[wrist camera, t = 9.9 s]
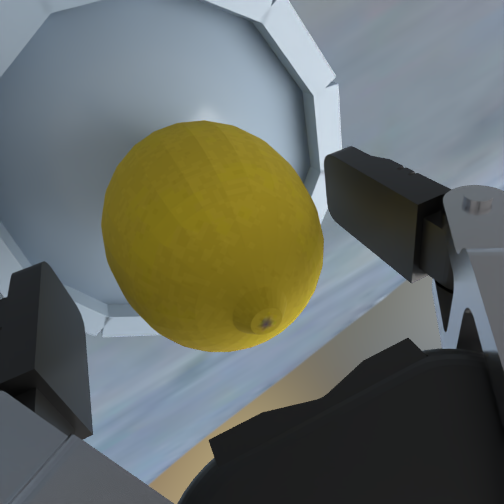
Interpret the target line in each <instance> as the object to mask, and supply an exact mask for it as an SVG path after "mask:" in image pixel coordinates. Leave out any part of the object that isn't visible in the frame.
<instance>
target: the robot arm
mask: <svg viewBox="0 0 504 504" xmlns="http://www.w3.org/2000/svg"><path fill="white" fill-rule="evenodd" d="M324 173H325V185H326V196H327V205H328V209H329V212H330V214H331V216H332V218H333V219H334V220H335V222H337V223H338V224H339V225H340V226H341V227H343V228H344V229H345V230H346V231H348V232H349V233H350V234H351V235H352V236H354V237H355V238H356V239H357V240H359V241H360V242H361V243H362V244H364V245H365V246H366V247H367V248H369V249H370V250H371V251H372V252H373V253H375V254H376V255H377V256H378V257H380V258H381V259H382V260H383V261H385V262H386V263H387V264H388V265H389V266H391V267H392V268H393V269H394V270H396V271H397V272H398V273H399V274H401V275H402V276H403V277H404V278H406V279H407V280H408V281H409V282H410V283H413V282H415V281H418V280H420V279H422V278H424V277H426V276H428V275H429V276H430V277H432V278H433V282H432V283H433V284H432V292H433V298H434V304H435V310H436V315H437V321H438V327H439V333H440V339H441V346H442V349H432V350H424V351H421V350H420V349H419V348H418V347H417V346H416V345H415V344H414V343H413V342H412V341H411V340H410V339H409V338H407V339H405V340H403V341H401V342H399V343H397V344H395V345H393V346H391V347H389V348H387V349H385V350H383V351H381V352H380V353H378V354H376V355H374V356H372V357H370V358H368V359H366V360H364V361H363V362H361V363H360V364H359V365H358V366H357V367H356V368H355V369H354V370H353V371H352V372H351V373H349V375H347V376H346V377H345V378H344V379H343V380H342V381H341V382H340V383H339V384H338V385H336V386H335V387H334V388H333V389H332V390H331V391H330V392H329V393H328V394H327V395H325V396H324V397H322V398H320V399H317V400H313V401H309V402H305V403H301V404H296V405H292V406H288V407H284V408H279V409H275V410H271V411H267V412H263V413H260V414H259V415H257V416H255V417H253V418H251V419H249V420H247V421H245V422H243V423H241V424H239V425H237V426H235V427H233V428H232V429H229V430H227V431H225V432H223V433H222V434H220V435H218V436H216V437H214V438H212V439H210V440H209V442H210V446H211V448H212V451H213V454H214V457H215V458H214V459H213V460H211V461H210V462H209V463H208V464H207V465H206V466H205V467H204V468H203V469H202V470H201V472H199V474H198V475H197V476H196V477H195V478H194V479H193V481H192V482H191V483H190V485H189V486H188V488H187V489H186V490H185V492H184V493H183V495H182V497H181V498H180V500H179V502H178V504H504V191H502V190H500V189H497V188H493V187H489V186H481V185H469V186H462V187H458V188H455V189H452V190H451V189H449V188H447V187H445V186H443V185H441V184H439V183H437V182H435V181H433V180H431V179H429V178H427V177H425V176H423V175H421V174H419V173H416V174H415V172H414V171H412V170H410V169H408V168H404V167H403V166H402V165H400V164H398V163H396V162H394V161H392V160H390V159H385V158H380V157H375V156H370V155H368V154H366V153H364V152H362V151H360V150H359V149H357V148H355V147H352V146H350V147H347V148H344V149H342V150H339V151H336V152H334V153H331V154H328V155H327V156H326V157H325V159H324ZM91 435H93V429H92V415H91V402H90V389H89V376H88V363H87V350H86V337H85V326H84V321H83V318H82V315H81V313H80V311H79V309H78V307H77V305H76V304H75V302H74V301H73V299H72V298H71V296H70V295H69V293H68V292H67V290H66V289H65V287H64V286H63V284H62V283H61V281H60V280H59V278H58V277H57V275H56V274H55V272H54V271H53V269H52V268H51V266H50V265H49V264H48V263H47V262H45V261H43V262H41V263H38V264H35V265H33V266H30V267H27V268H25V269H22V270H19V271H17V272H14V273H12V275H11V278H10V284H9V290H8V295H7V297H6V298H3V299H1V300H0V504H174V503H172V502H171V501H169V500H168V499H167V498H165V497H164V496H162V495H161V494H159V493H158V492H157V491H155V490H154V489H152V488H151V487H149V486H148V485H146V484H145V483H144V482H142V481H141V480H139V479H138V478H136V477H135V476H134V475H132V474H131V473H129V472H128V471H126V470H125V469H123V468H122V467H121V466H119V465H118V464H116V463H115V462H113V461H112V460H110V459H109V458H108V457H106V456H105V455H103V454H102V453H100V452H99V451H98V450H96V449H95V448H93V447H92V446H90V445H89V444H87V443H86V442H85V441H83V439H85V438H87V437H89V436H91Z"/></svg>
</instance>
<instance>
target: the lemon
mask: <svg viewBox="0 0 504 504" xmlns="http://www.w3.org/2000/svg"><path fill="white" fill-rule="evenodd" d="M101 228H102V236H103V242H104V248H105V254H106V258H107V262H108V265H109V267H110V269H111V272H112V273H113V275H114V277H115V279H116V281H117V283H118V285H119V287H120V289H121V291H122V293H123V295H124V297H125V298H126V300H127V301H128V303H129V304H130V305H131V307H132V308H133V309H134V310H135V311H136V312H137V313H138V314H139V315H140V316H141V317H142V318H143V319H144V320H145V321H146V322H147V323H148V325H149V326H150V327H151V328H153V329H154V330H155V331H156V332H158V333H159V334H161V335H162V336H164V337H166V338H168V339H170V340H172V341H174V342H176V343H178V344H180V345H182V346H184V347H188V348H193V349H197V350H202V351H208V352H231V351H236V350H241V349H246V348H251V347H253V346H256V345H258V344H261V343H263V342H266V341H268V340H269V339H271V338H273V337H274V336H276V335H278V334H279V333H281V332H282V331H283V330H284V329H286V328H287V327H288V326H289V325H290V324H291V323H293V321H294V320H295V319H296V318H297V317H298V316H299V314H300V313H301V312H302V311H303V309H304V308H305V307H306V305H307V303H308V302H309V300H310V298H311V296H312V295H313V293H314V291H315V288H316V285H317V282H318V279H319V276H320V272H321V269H322V265H323V247H324V238H323V234H322V229H321V225H320V220H319V216H318V211H317V209H316V206H315V204H314V202H313V200H312V198H311V196H310V194H309V193H308V191H307V189H306V187H305V186H304V184H303V182H302V180H301V179H300V177H299V175H298V174H297V172H296V171H295V170H294V168H293V167H292V166H291V165H290V164H289V162H287V161H286V160H285V159H284V158H283V157H282V156H281V155H280V154H279V153H278V152H277V151H275V150H274V149H273V148H272V147H271V146H270V145H269V144H268V143H267V142H265V141H264V140H262V139H261V138H259V137H257V136H255V135H252V134H250V133H248V132H246V131H244V130H242V129H240V128H238V127H236V126H233V125H229V124H223V123H217V122H211V121H206V120H202V121H191V122H181V123H176V124H173V125H170V126H167V127H165V128H162V129H159V130H157V131H154V132H153V133H151V134H150V135H148V136H147V137H145V138H144V139H143V140H141V141H140V142H138V143H137V144H135V145H134V146H133V147H132V149H131V150H130V151H129V152H128V153H127V155H126V156H125V157H124V158H123V159H122V161H121V162H120V163H119V164H118V166H117V167H116V170H115V172H114V174H113V176H112V178H111V180H110V183H109V185H108V187H107V189H106V193H105V198H104V205H103V212H102V220H101Z"/></svg>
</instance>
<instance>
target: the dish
mask: <svg viewBox="0 0 504 504" xmlns="http://www.w3.org/2000/svg"><path fill="white" fill-rule="evenodd" d="M335 77H336V75H335V74H334V72H333V70H332V69H331V67H330V66H329V64H328V63H327V61H326V59H325V58H324V56H323V55H322V53H321V51H320V50H319V48H318V47H317V45H316V43H315V42H314V40H313V39H312V37H311V35H310V34H309V32H308V31H307V29H306V28H305V26H304V24H303V23H302V21H301V20H300V18H299V16H298V15H297V13H296V12H295V10H294V8H293V7H292V5H291V4H290V2H289V0H0V292H1V294H2V295H3V296H4V297H5V298H6V297H7V295H8V290H9V284H10V278H11V275H12V273H14V272H17V271H19V270H22V269H25V268H27V267H30V266H33V265H35V264H38V263H41V262H43V261H45V262H47V263H48V264H49V265H50V266H51V268H52V269H53V271H54V272H55V274H56V275H57V277H58V278H59V280H60V281H61V283H62V284H63V286H64V287H65V289H66V290H67V292H68V293H69V295H70V296H71V298H72V299H73V301H74V302H75V304H76V305H77V307H78V309H79V311H80V313H81V315H82V318H83V321H84V326H85V332H86V333H88V334H91V335H93V336H96V335H97V334H98V333H99V332H100V330H101V332H102V337H124V336H148V335H161V334H159V333H158V332H156V331H155V330H154V329H153V328H151V327H150V326H149V325H148V323H147V322H146V321H145V320H144V319H143V318H142V317H141V316H140V315H139V314H138V313H137V312H136V311H135V310H134V309H133V308H132V307H131V305H130V304H129V303H128V301H127V300H126V298H125V297H124V295H123V293H122V291H121V289H120V287H119V285H118V283H117V281H116V279H115V277H114V275H113V273H112V272H111V269H110V267H109V265H108V262H107V258H106V254H105V248H104V242H103V236H102V228H101V220H102V212H103V205H104V198H105V193H106V189H107V187H108V185H109V183H110V180H111V178H112V176H113V174H114V172H115V170H116V167H117V166H118V164H119V163H120V162H121V161H122V159H123V158H124V157H125V156H126V155H127V153H128V152H129V151H130V150H131V149H132V147H133V146H134V145H135V144H137V143H138V142H140V141H141V140H143V139H144V138H145V137H147V136H148V135H150V134H151V133H153V132H154V131H157V130H159V129H162V128H165V127H167V126H170V125H173V124H176V123H181V122H191V121H202V120H206V121H211V122H217V123H223V124H229V125H233V126H236V127H238V128H240V129H242V130H244V131H246V132H248V133H250V134H252V135H255V136H257V137H259V138H261V139H262V140H264V141H265V142H267V143H268V144H269V145H270V146H271V147H272V148H273V149H274V150H275V151H277V152H278V153H279V154H280V155H281V156H282V157H283V158H284V159H285V160H286V161H287V162H289V164H290V165H291V166H292V167H293V168H294V170H295V171H296V172H297V174H298V175H299V177H300V179H301V180H302V182H303V184H304V186H305V187H306V189H307V191H308V193H309V194H310V196H311V198H312V200H313V202H314V204H315V206H316V209H317V211H318V216H319V220H320V225H321V223H322V220H323V218H324V216H325V213H326V211H327V208H328V205H327V196H326V185H325V173H324V159H325V157H326V156H327V155H328V154H331V153H334V152H336V151H339V150H342V143H341V124H340V106H339V87H338V83H335V82H331V81H332V80H333V79H334V78H335Z"/></svg>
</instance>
